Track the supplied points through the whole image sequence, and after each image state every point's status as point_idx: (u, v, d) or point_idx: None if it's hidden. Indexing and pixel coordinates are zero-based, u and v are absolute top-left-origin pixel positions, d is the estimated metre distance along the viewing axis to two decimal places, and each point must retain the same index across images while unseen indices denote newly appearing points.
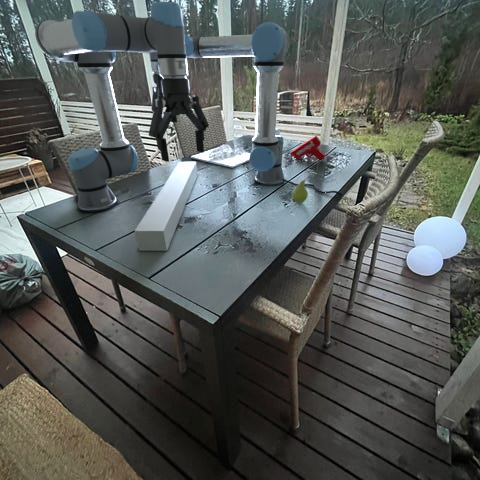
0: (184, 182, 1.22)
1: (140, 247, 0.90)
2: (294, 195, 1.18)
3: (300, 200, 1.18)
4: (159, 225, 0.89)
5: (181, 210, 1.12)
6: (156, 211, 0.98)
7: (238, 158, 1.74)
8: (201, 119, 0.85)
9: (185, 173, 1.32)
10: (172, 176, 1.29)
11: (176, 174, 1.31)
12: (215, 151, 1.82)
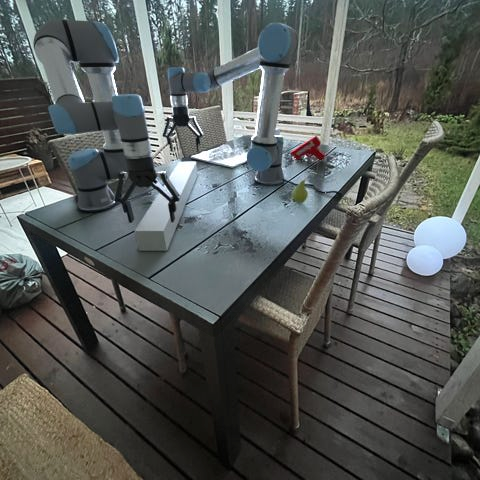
0: (184, 182, 1.22)
1: (140, 247, 0.90)
2: (294, 195, 1.18)
3: (300, 200, 1.18)
4: (159, 225, 0.89)
5: (181, 210, 1.12)
6: (156, 211, 0.98)
7: (238, 158, 1.74)
8: None
9: (185, 173, 1.32)
10: (172, 176, 1.29)
11: (176, 174, 1.31)
12: (215, 151, 1.82)
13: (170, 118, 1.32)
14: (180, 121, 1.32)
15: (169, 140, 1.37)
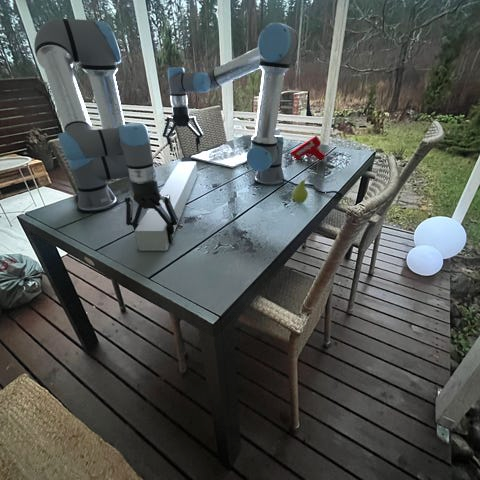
0: (184, 182, 1.22)
1: (140, 247, 0.90)
2: (294, 195, 1.18)
3: (300, 200, 1.18)
4: (159, 225, 0.89)
5: (181, 210, 1.12)
6: (156, 211, 0.98)
7: (238, 158, 1.74)
8: None
9: (185, 173, 1.32)
10: (172, 176, 1.29)
11: (176, 174, 1.31)
12: (215, 151, 1.82)
13: (170, 118, 1.32)
14: (180, 121, 1.32)
15: (169, 140, 1.37)
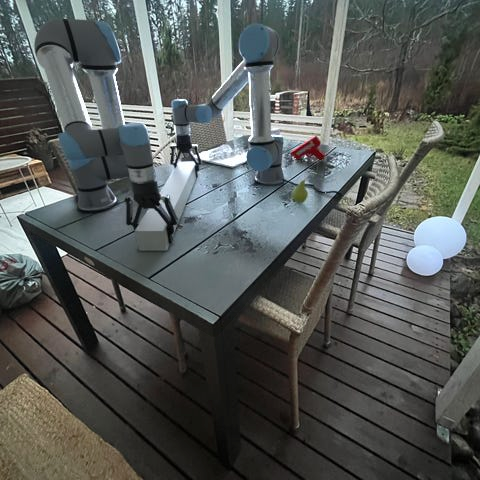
0: (184, 182, 1.22)
1: (140, 247, 0.90)
2: (294, 195, 1.18)
3: (300, 200, 1.18)
4: (159, 225, 0.89)
5: (181, 210, 1.12)
6: (156, 211, 0.98)
7: (238, 158, 1.74)
8: None
9: (185, 173, 1.32)
10: (172, 176, 1.29)
11: (176, 174, 1.31)
12: (215, 151, 1.82)
13: (174, 146, 1.39)
14: (183, 148, 1.39)
15: None
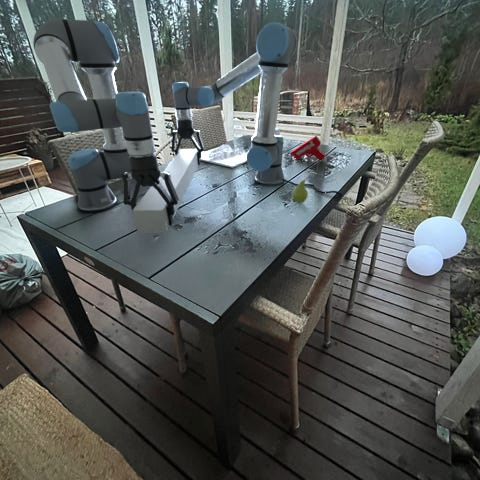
0: (185, 166, 1.17)
1: (138, 228, 0.84)
2: (294, 195, 1.18)
3: (300, 200, 1.18)
4: (158, 205, 0.84)
5: (182, 194, 1.07)
6: (156, 192, 0.93)
7: (238, 158, 1.74)
8: None
9: (187, 158, 1.27)
10: (173, 161, 1.24)
11: (177, 159, 1.26)
12: (215, 151, 1.82)
13: (175, 132, 1.34)
14: (185, 134, 1.34)
15: None
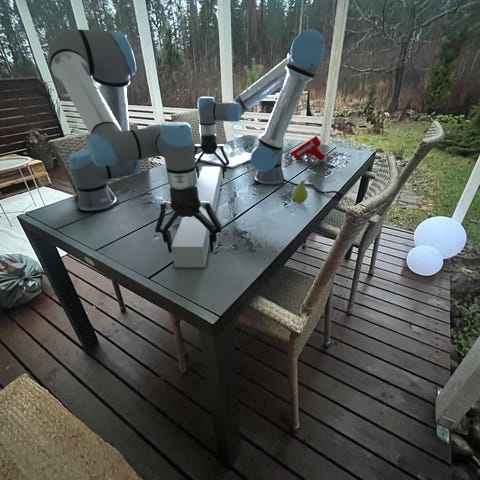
0: (213, 190, 1.14)
1: (176, 264, 0.82)
2: (294, 195, 1.18)
3: (300, 200, 1.18)
4: (196, 240, 0.81)
5: None
6: (190, 223, 0.90)
7: (238, 158, 1.74)
8: None
9: (212, 179, 1.25)
10: (199, 183, 1.21)
11: (202, 180, 1.24)
12: None
13: (198, 146, 1.30)
14: (208, 149, 1.30)
15: (196, 168, 1.35)
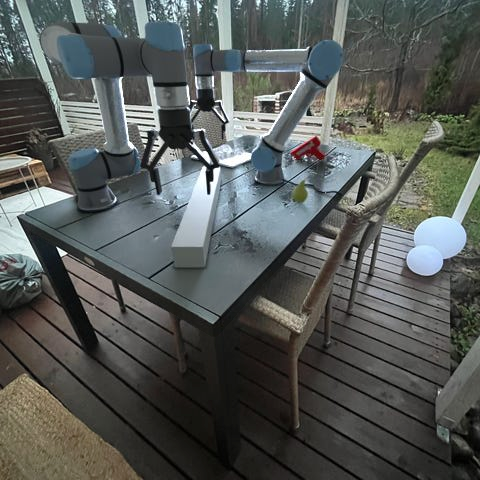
0: (213, 190, 1.14)
1: (176, 264, 0.82)
2: (294, 195, 1.18)
3: (300, 200, 1.18)
4: (196, 240, 0.81)
5: (212, 220, 1.04)
6: (190, 223, 0.90)
7: (238, 158, 1.74)
8: None
9: None
10: (199, 183, 1.21)
11: (202, 180, 1.24)
12: (215, 151, 1.82)
13: (194, 102, 1.20)
14: (205, 105, 1.20)
15: (192, 127, 1.25)
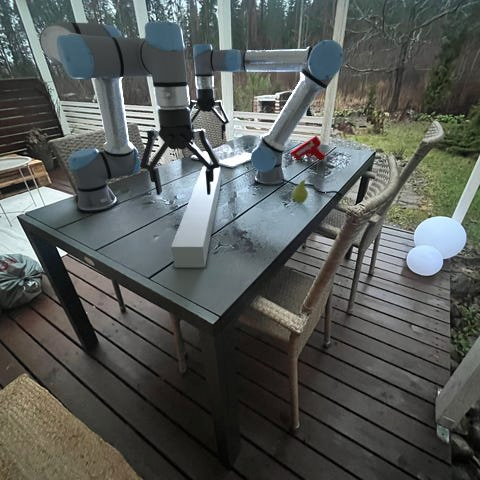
0: (213, 190, 1.14)
1: (176, 264, 0.82)
2: (294, 195, 1.18)
3: (300, 200, 1.18)
4: (196, 240, 0.81)
5: (212, 220, 1.04)
6: (190, 223, 0.90)
7: (238, 158, 1.74)
8: None
9: None
10: (199, 183, 1.21)
11: (202, 180, 1.24)
12: (215, 151, 1.82)
13: (194, 102, 1.20)
14: (205, 105, 1.20)
15: (192, 127, 1.25)
